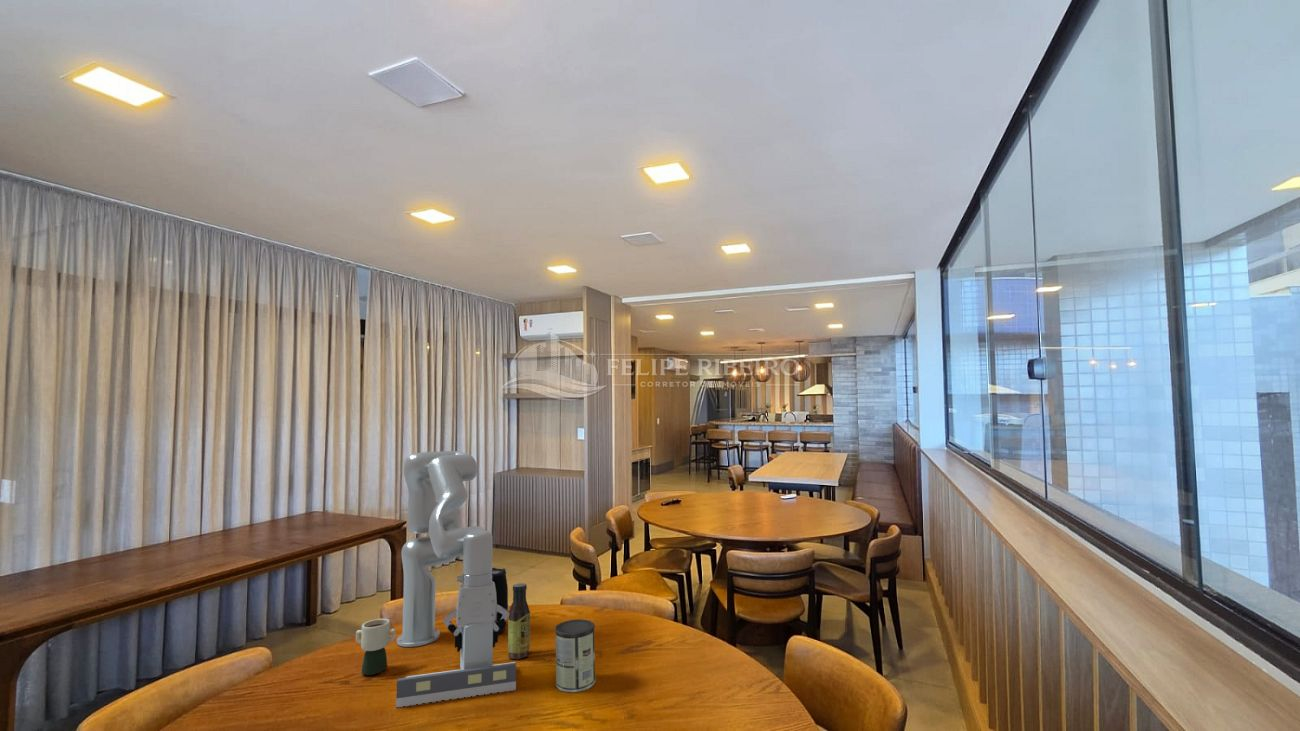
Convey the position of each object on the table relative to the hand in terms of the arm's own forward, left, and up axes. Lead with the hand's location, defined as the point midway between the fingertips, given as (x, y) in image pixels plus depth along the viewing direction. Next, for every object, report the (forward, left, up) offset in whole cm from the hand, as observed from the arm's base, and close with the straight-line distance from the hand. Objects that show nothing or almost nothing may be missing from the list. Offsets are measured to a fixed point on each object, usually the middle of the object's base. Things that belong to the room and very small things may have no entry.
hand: (476, 647), depth 138 cm
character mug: (-16, -28, -9) cm, 33 cm away
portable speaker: (-36, +3, -9) cm, 37 cm away
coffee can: (+8, +25, -9) cm, 28 cm away
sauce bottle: (-14, +11, -9) cm, 20 cm away
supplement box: (0, 0, -6) cm, 6 cm away
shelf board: (+1, -4, -9) cm, 10 cm away
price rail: (+7, -4, -7) cm, 10 cm away
